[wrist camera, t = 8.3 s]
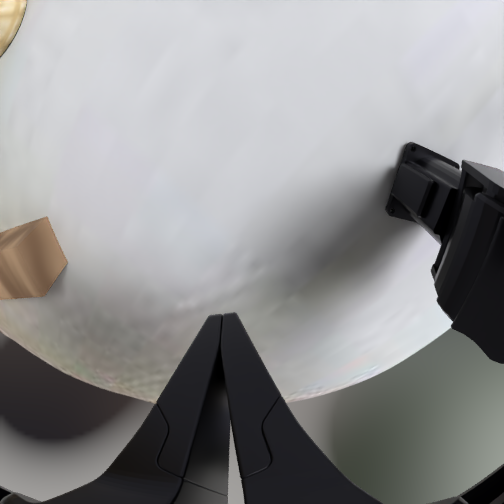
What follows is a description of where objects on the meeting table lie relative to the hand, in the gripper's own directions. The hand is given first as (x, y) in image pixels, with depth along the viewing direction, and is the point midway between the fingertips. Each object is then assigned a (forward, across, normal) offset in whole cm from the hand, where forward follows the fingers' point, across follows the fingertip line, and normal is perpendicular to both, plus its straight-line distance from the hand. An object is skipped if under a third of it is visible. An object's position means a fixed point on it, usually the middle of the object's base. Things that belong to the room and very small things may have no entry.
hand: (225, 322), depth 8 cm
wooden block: (+11, +17, +2) cm, 20 cm away
